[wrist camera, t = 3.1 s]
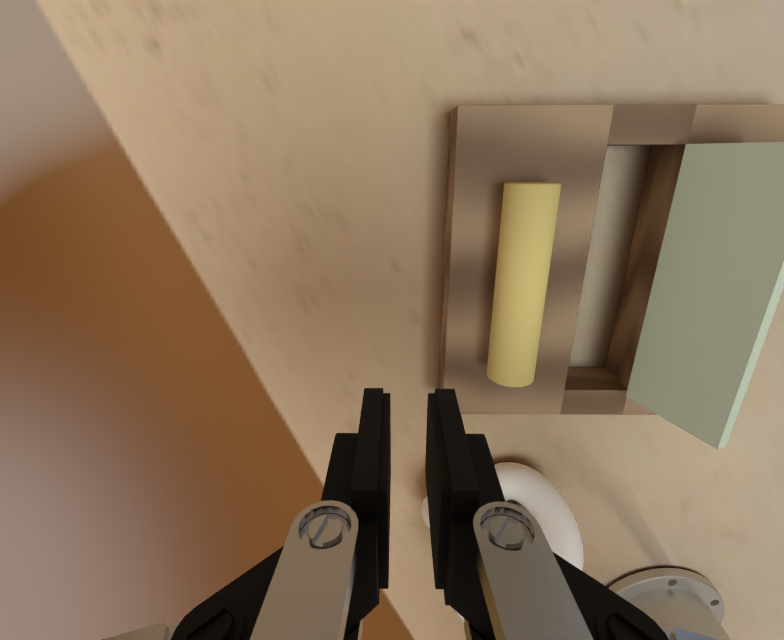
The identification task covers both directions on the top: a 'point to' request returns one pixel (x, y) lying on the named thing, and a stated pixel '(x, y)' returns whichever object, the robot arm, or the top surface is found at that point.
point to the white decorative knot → (538, 509)
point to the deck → (563, 236)
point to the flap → (713, 287)
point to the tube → (521, 280)
